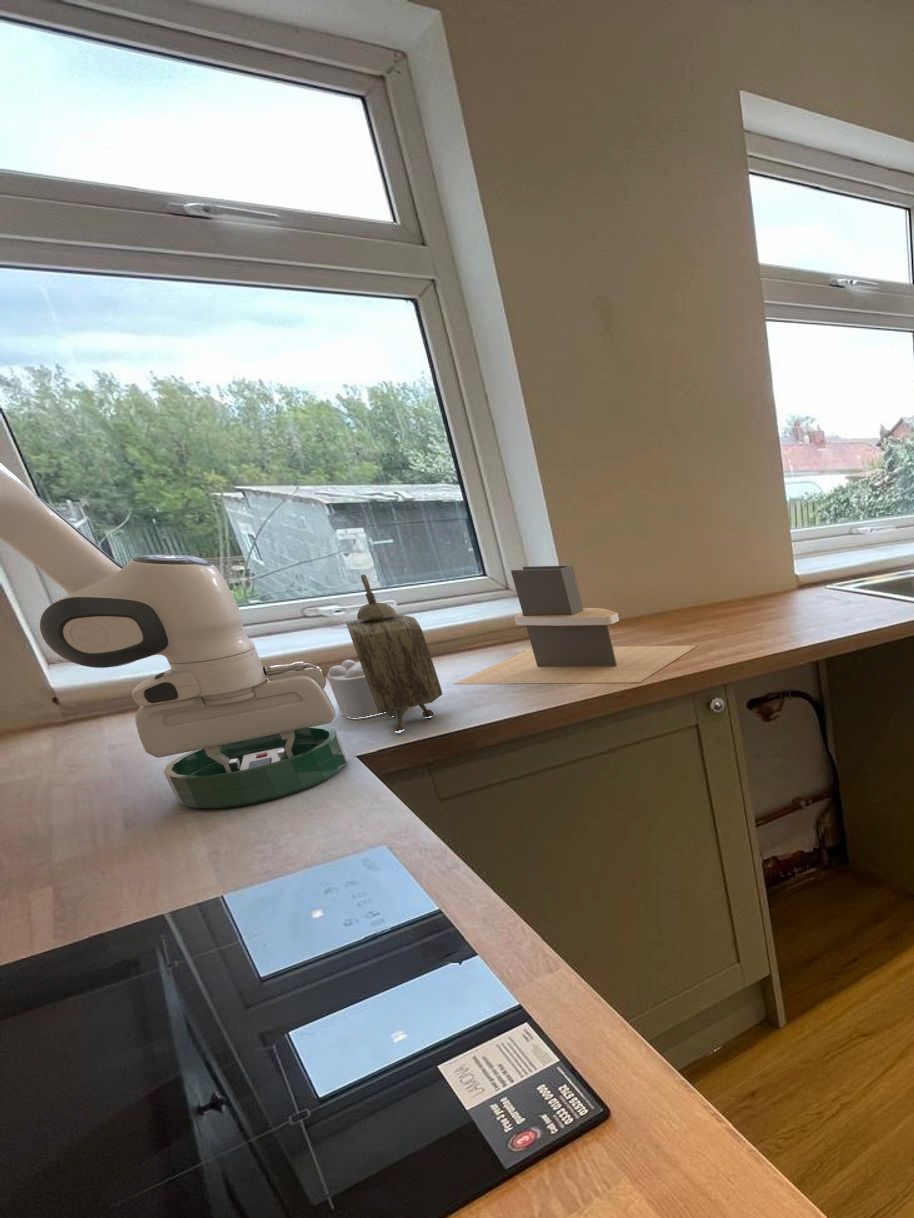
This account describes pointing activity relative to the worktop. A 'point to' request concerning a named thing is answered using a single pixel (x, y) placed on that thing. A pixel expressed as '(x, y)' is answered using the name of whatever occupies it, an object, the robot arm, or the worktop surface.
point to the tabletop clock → (393, 659)
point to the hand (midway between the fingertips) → (262, 767)
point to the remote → (260, 759)
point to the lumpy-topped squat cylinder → (352, 690)
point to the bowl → (256, 770)
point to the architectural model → (569, 638)
